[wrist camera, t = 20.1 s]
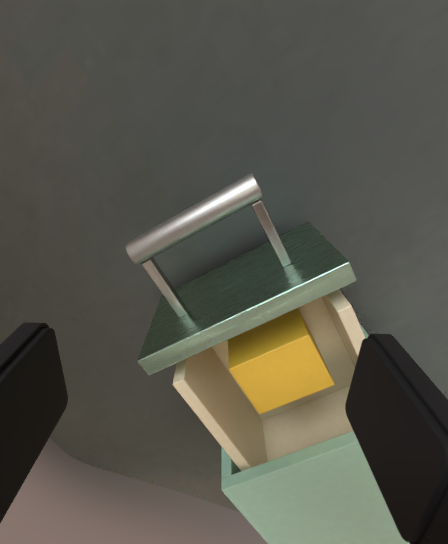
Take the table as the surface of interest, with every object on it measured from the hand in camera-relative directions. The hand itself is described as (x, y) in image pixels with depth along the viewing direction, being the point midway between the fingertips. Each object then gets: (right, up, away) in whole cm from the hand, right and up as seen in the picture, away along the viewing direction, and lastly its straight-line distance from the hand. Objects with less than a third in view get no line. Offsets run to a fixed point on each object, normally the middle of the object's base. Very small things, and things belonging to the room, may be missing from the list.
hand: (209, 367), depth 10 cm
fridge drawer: (+3, 0, +15) cm, 16 cm away
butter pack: (+4, -2, +15) cm, 16 cm away
